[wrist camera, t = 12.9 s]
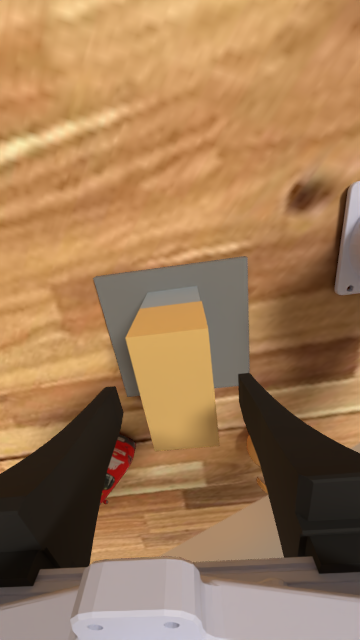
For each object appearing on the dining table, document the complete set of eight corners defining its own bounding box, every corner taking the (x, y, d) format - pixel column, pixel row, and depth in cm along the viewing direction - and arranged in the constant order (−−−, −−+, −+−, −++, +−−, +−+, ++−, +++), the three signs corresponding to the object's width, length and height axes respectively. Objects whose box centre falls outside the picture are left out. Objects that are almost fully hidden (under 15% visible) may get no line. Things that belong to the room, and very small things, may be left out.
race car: (98, 496, 31) (87, 533, 27) (60, 482, 30) (42, 519, 26) (145, 438, 26) (139, 474, 23) (102, 419, 25) (88, 453, 22)
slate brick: (197, 285, 18) (200, 302, 15) (206, 369, 21) (211, 399, 18) (147, 292, 18) (138, 310, 15) (164, 373, 22) (160, 405, 18)
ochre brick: (201, 300, 14) (208, 328, 11) (211, 399, 18) (219, 446, 14) (139, 308, 15) (125, 337, 11) (160, 404, 18) (154, 451, 14)
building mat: (245, 256, 18) (247, 257, 17) (248, 380, 23) (249, 384, 22) (96, 276, 19) (93, 278, 18) (128, 392, 23) (127, 396, 23)
